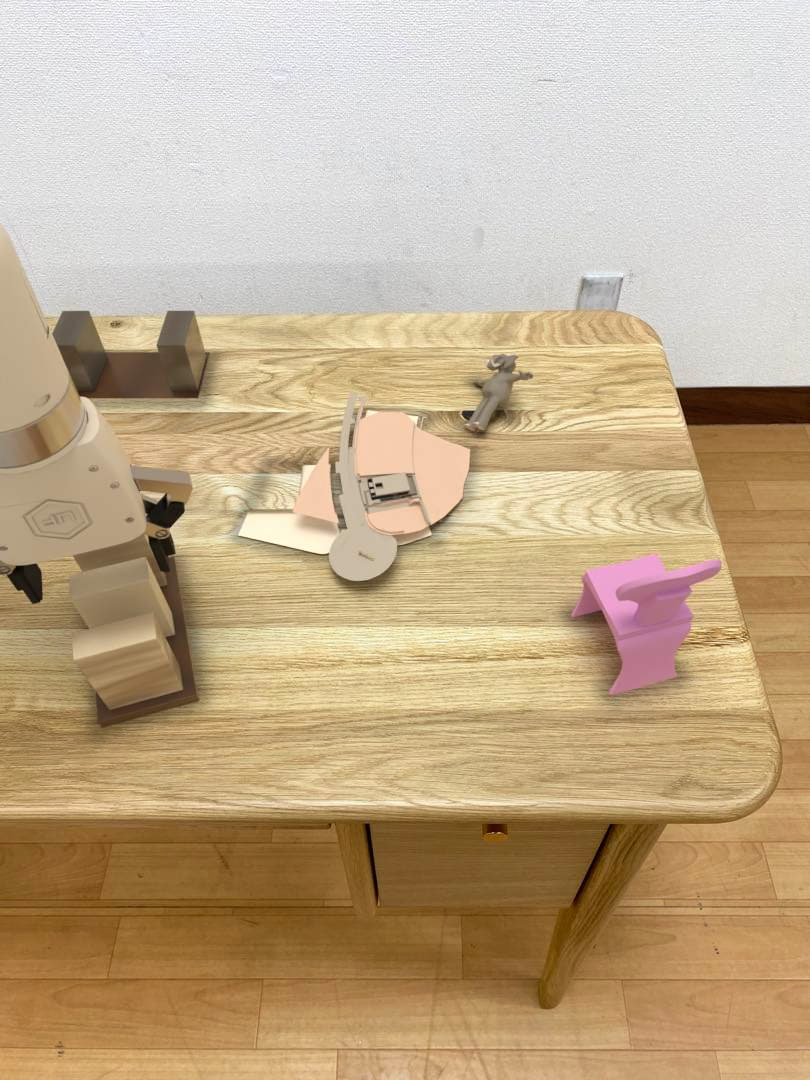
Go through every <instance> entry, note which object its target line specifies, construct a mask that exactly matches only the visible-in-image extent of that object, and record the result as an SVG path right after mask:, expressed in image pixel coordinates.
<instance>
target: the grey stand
mask: <svg viewBox="0 0 810 1080" xmlns="http://www.w3.org/2000/svg"><path fill="white" fill-rule="evenodd" d="M60 313H61V314H60V315H59V317H58V320H57V322H56V324H55V326H54V329H53V331H52V335H53V337H54V339H55V342H56V344H57V346H58V349H59V351H60V353H61V356H62V358H63V360H64V363H65V365H66V367H67V369H68V371H69V373H70V376H71V378H72V380H73V383H74V385H75V387H76V390H77V392H78V394H79V396H80V397H86V398H88V399H199V398H200V397H199V396H200V393H201V389H202V386H203V385H202V384H203V382H204V378H205V374H206V370H207V365H208V361H209V357H210V351H207V352H206V351H205V346H204V343H203V338H202V335H201V330H200V328H199V327H200V326H199V323H198V320H197V315H196V312H195V310H167V311H166V314H165V317H164V320H163V323H162V326H161V329H160V332H159V336H158V339H157V342H156V348H157V352H156V351H152V352H151V351H149V352H148V351H147V352H146V351H141V352H140V351H139V352H138V351H137V352H136V351H134V352H133V351H124V352H123V351H115V352H113V351H112V352H111V351H110V352H109V351H107V352H106V350H105V347H104V345H103V342H102V339H101V337H100V334H99V332H98V329H97V327H96V325H95V321H94V319H93V317H92V315H91V312H90V310H62V311H61V312H60Z"/></svg>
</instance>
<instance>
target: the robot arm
mask: <svg viewBox="0 0 810 1080" xmlns="http://www.w3.org/2000/svg"><path fill="white" fill-rule="evenodd" d="M52 333H53V331H52V330H51V328H50V326H49V323H48V320H47V318H46V316H45V314H44V311H43V309H42V307H41V304H40V303H39V300H38V298H37V296H36V293H35V291H34V288H33V287H32V284H31V282H30V280H29V278H28V274H27V273H26V271H25V269H24V266H23V264H22V262H21V259H20V256H19V254H18V252H17V250H16V248H15V246H14V243H13V241H12V239H11V236H10V235H9V233H8V231H7V229H6V227H5V226H4V225H3V224H2V223H1V222H0V576H6V577H7V578H8V580H9V581H10V582H11V584H12V585H13V587H14V588H15V589H16V591H17V592H21V591H23V593H24V594H25V596H26V597H27V598H28V600H29V602H30V603H31V604H32V605H35V604H40V603H41V601H43V599H44V597H43V596H44V595H43V593H44V592H43V573H42V570H41V567H40V566H39V565H38V564H39V563H44V562H49V561H53V560H54V561H55V560H59V559H63V558H67V557H71V556H72V557H73V555H76V554H81V553H85V552H89V551H93V550H98V549H102V548H106V547H110V546H114V545H118V544H122V543H125V542H128V541H131V540H133V539H135V538H137V537H139V536H140V535H142V534H145V535H148V540H149V545H150V548H151V550H152V552H153V555H154V557H155V559H156V562H157V564H158V566H159V569H160V571H161V572H162V571H163V572H164V573H165V572H170V571H171V570H170V564H169V557H171V556H174V555H177V554H176V552H177V551H176V546H175V542H174V539H173V536H172V533H171V530H170V529H171V528H172V527H173V526H174V525H175V524H176V522H177V521H178V520H179V519H180V518H181V517H182V516H183V515H184V514H185V511H186V508H185V506H186V504H187V503H188V501H189V500H190V497H191V494H192V491H193V489H194V487H193V481H192V476H191V474H190V473H189V472H187V471H183V470H182V471H181V470H173V469H163V468H155V467H146V466H138V465H133V463H132V461H131V459H130V458H129V455H128V454H127V452H126V450H125V448H124V446H123V444H122V443H121V441H120V440H119V438H118V436H117V435H116V433H115V431H114V430H113V428H112V427H111V426H110V424H109V422H108V421H107V419H106V417H104V415H103V414H102V413H101V412H100V410H99V409H98V408H97V407H96V405H95V404H94V403H93V402H92V400H91V399H90V398H86V397H80V396H79V394H78V392H77V390H76V387H75V385H74V383H73V380H72V378H71V376H70V373H69V371H68V369H67V367H66V365H65V363H64V360H63V358H62V356H61V353H60V351H59V349H58V346H57V344H56V342H55V339H54V337H53V335H52ZM141 492H146V493H147V492H148V493H149V492H150V493H157V494H164V495H162V497H161V498H160V499H159V500H158V499H155V498H153V497H150V496H148V495H145V494H142V493H141Z"/></svg>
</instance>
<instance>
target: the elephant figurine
mask: <svg viewBox="0 0 810 1080" xmlns="http://www.w3.org/2000/svg"><path fill="white" fill-rule="evenodd" d="M517 359H519V356H518V355H516V354H511V355H507V354H506V353H500V354H493V355H492V356H490V358H489V361H487V358H486V357H483V361H484V364H485V367H486V368H487V369H489V370H490V371H492V372H494V371H498V372H495V373H493V374H492V376H491V377H490V378H487V379H484V380H482V379H481V380H480V379H477V378H473V383H474V385H477V386H479V387H480V388H481V395H482V399H481V401H480V402H479V403H478V405H477V407H476V409H475V410H474V412H473V413H472V415H471V417H470V418H469V420H468V421H467V423H465V424H464V425H463V426H464V427H465V428H466V429H467V430H468V431H471V432H473V433H476V432H477V429H478V430H479V431H483V432H485V431H486V429H487V427H488V424H489V423H490V419H491V417H492V415H493V414H494V412H495V411H496V409H497V408H498V406H499V407H501V408H502V410H503V412H504V416H505V418H506V419H508V418H509V417H508V415H509V413H508V403H509V401H510V397H511V394H512V390H513V386H514V383H516V382H519V381H528V380H530V379H531V380H532V379H534V373H532V372H530V371H528V372H526V371H525V372H523V371H521V370H520V369H519V370H518V374H517V373H513V372H514V371H515V369H516V368H517V363H516V360H517Z"/></svg>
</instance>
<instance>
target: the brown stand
mask: <svg viewBox="0 0 810 1080" xmlns="http://www.w3.org/2000/svg"><path fill="white" fill-rule="evenodd" d="M72 557H73V559H74V561H75V562H76V564H77V566H78V567H79V569H80V571H81V572H85V571H89V570H93V569H97V568H102V567H106V566H110V565H114V564H118V563H122V562H126V561H130V560H134V559H138V558H143V557H146V559H147V561H148V563H149V565H150V567H151V569H152V572H153V574H154V576H155V578H156V580H157V582H158V585H159V587H160V589H161V591H162V593H163V595H164V597H165V600H166V602H167V604H168V606H169V608H170V610H171V612H172V617H173V624H174V630H175V635H172V636H169V637H165V636H164V634H163V632H162V630H161V628H160V626H159V624H158V622H157V620H156V618H155V616H154V614H153V613H149V614H145V615H141V616H137V617H133V618H129V619H125V620H121V621H118V622H114V623H110V624H106V625H102V626H98V627H94V628H90V629H89V628H87V629H83V630H79V631H75V632H71V642H72V644H71V645H72V660H73V661H74V663H75V664H76V666H77V667H78V669H79V670H80V672H81V673H82V674H83V675H84V677H85V678H86V680H87V681H88V682H89V684H90V685H91V686H92V688H93V689H94V691H95V702H96V703H95V704H96V717H97V723H98V725H99V726H100V727H101V728H102V729H104V728H106V727H110V726H113V725H116V724H120V723H121V724H122V723H124V722H128V721H131V720H134V719H138V718H142V717H144V716H149V715H153V714H156V713H160V712H163V711H168V710H171V709H173V708H177V707H181V706H184V705H188V704H191V703H196V702H199V701H200V694H199V689H198V688H199V687H198V683H197V682H198V681H197V677H196V670H195V665H194V658H193V652H192V647H191V641H190V635H189V627H188V621H187V617H186V616H187V615H186V610H185V604H184V598H183V592H182V587H181V580H180V575H179V568H178V563H177V559H176V557H175V556H174V555H172V556H168V558H169V564H170V570H171V571H170V572H165V573H164V572H163V571H162V572H161V571H160V569H159V566H158V564H157V562H156V559H155V557H154V555H153V552H152V550H151V548H150V545H149V540H148V535H145V534H142V535H140V536H139V537H137V538H135V539H133V540H131V541H128V542H125V543H122V544H118V545H114V546H110V547H106V548H102V549H98V550H93V551H89V552H85V553H81V554H76V555H72Z"/></svg>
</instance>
